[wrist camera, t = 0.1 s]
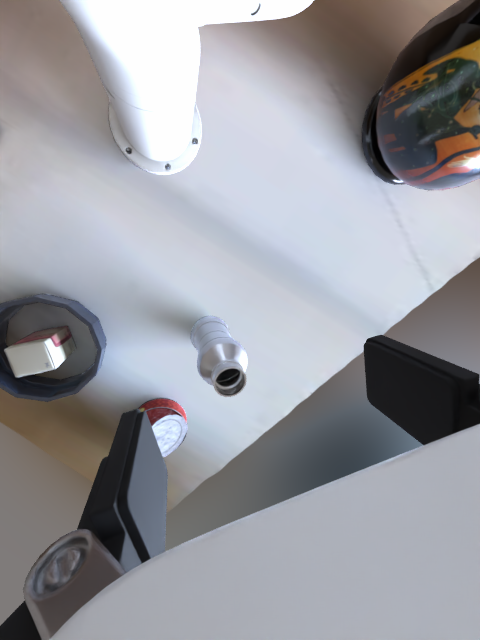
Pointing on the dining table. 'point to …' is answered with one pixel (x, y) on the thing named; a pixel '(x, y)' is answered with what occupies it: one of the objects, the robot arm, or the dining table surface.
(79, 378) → the ring
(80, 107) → the dining table surface
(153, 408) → the canned food
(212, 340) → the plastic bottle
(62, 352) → the small box
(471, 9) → the amphora vase
